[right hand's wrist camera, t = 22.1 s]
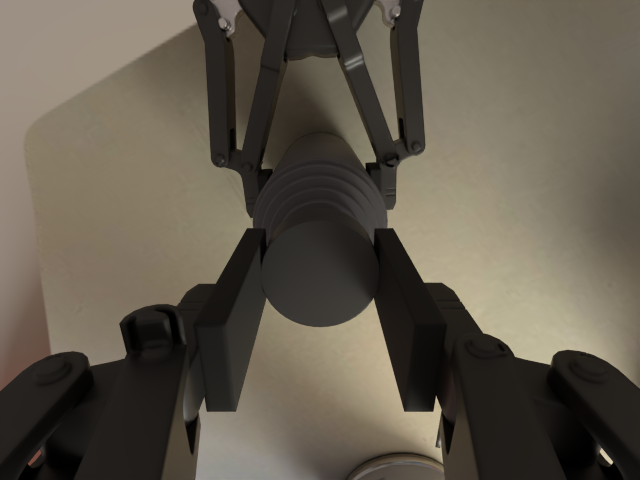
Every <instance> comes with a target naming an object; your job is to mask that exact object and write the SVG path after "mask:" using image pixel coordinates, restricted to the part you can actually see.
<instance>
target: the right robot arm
mask: <svg viewBox="0 0 640 480" xmlns="http://www.w3.org/2000/svg"><path fill="white" fill-rule="evenodd" d="M373 247H374V250H375V252H376V255H377V258H378V261H379V282H378V289H377V292H376V294H375V296H374V301H375V304H376V308H377V312H378V315H379V319H380V323H381V327H382V330H383V334H384V338H385V341H386V345H387V349H388V353H389V356H390V360H391V364H392V367H393V371H394V375H395V379H396V382H397V386H398V390H399V393H400V397H401V401H402V405H403V408H404V412H433V410H434V404H435V398H436V396H437V399H438V401H439V404H440V406H441V409H442V412H441V418H440V423H439V429H438V435H437V441H436V447H438V448H440V446H441V447H442V456H443V466H442V465H441V464H440V463H438V462H436V461H434V460H432V459H430V458H427V457H424V456H420V455H414V454H392V455H386V456H382V457H378V458H375V459H373V460H370V461H368V462H366V463H364V464H362V465H361V466H359V467H358V468H356V469H355V470H354V471H353V472H352V473H351V474H350V475H349V476H348V478H347V479H346V480H640V389H639V388H638V387H637V386H636V385H635V384H634V383H633V382H631V381H630V380H629V379H628V378H627V377H626V376H625V375H624V374H622V373H621V372H620V371H619V370H618V369H616V368H615V367H614V366H612V365H611V364H609V363H608V362H607V361H604V360H602V359H600V358H598V357H596V356H594V355H592V354H589V353H585V352H581V351H573V350H564V351H558V352H557V353H556V354H555V355H554V356H553V358H552V361H551V365H548V364H543V363H538V362H534V361H529V360H524V359H521V358H517V357H515V356H514V354H513V352H512V351H511V349H510V348H509V347H508V345H506V344H505V343H504V342H502V341H501V340H499V339H497V338H495V337H493V336H491V335H488V334H484V333H483V332H482V331H481V329H480V328H479V327H478V325H477V324H476V322H475V321H474V319H473V318H472V317H471V315H470V314H469V312H468V311H467V310H465V307H464V305H463V304H462V302H460V299H459V298H458V296H457V295H456V294H455V292H454V291H453V290H452V289H450V288H449V287H447V286H446V285H444V284H443V283H424V282H423V280H422V279H421V277H420V275H419V273H418V272H417V270H416V268H415V266H414V264H413V263H412V261H411V259H410V257H409V256H408V254H407V252H406V250H405V249H404V247H403V245H402V243H401V241H400V240H399V238H398V236H397V234H396V233H395V231H394V229H393V228H374V244H373ZM266 248H267V241H266V228H247V230H246V231H245V233H244V235H243V237H242V238H241V240H240V242H239V244H238V245H237V247H236V249H235V251H234V253H233V254H232V256H231V258H230V260H229V261H228V263H227V265H226V267H225V268H224V270H223V272H222V274H221V276H220V277H219V279H218V281H217V283H216V284H198V285H196V286H195V287H193V288H192V289H190V290H189V291H187V292H186V294H185V295H184V297H183V298H182V300H181V303H179V304H178V305H177V307H176V306H173V305H169V304H156V305H151V306H147V307H143V308H141V309H138V310H136V311H134V312H132V313H130V314H129V315H127V316H126V317H125V318H124V319H123V320H122V321H121V322H120V323H119V324H120V328H121V332H122V336H123V340H124V344H125V348H126V352H127V354H126V357H125V359H121V360H118V361H114V362H109V363H104V364H99V365H95V366H90V364H89V361H88V357H87V356H85V355H84V354H83V353H80V352H74V351H72V352H63V353H58V354H55V355H51V356H48V357H46V358H44V359H42V360H40V361H38V362H36V363H34V364H32V365H31V366H29V367H28V368H27V369H25V370H24V371H22V372H21V373H20V374H19V375H18V376H17V377H16V378H15V379H14V380H12V381H11V382H10V383H9V384H8V385H7V386H6V387H5V388H4V389H2V390H1V391H0V480H195V477H196V467H197V457H198V447H199V438H200V428H201V424H200V418H199V412H198V411H199V409H200V406H201V404H202V401H203V399H204V397H205V403H206V409H207V412H236V409H237V405H238V402H239V398H240V394H241V391H242V387H243V383H244V379H245V376H246V372H247V368H248V365H249V361H250V357H251V353H252V350H253V346H254V342H255V339H256V335H257V331H258V327H259V324H260V320H261V316H262V313H263V309H264V305H265V301H266V298H267V297H266V295H265V293H264V291H263V287H262V279H261V263H262V260H263V256H264V254H265V251H266ZM601 447H602V449H603V450H604V451H605V452H606V454H607V455H608V456H609V457H610V458H611V460H612V461H613V464H612V465H611V464H610V463H608V462H607V461H606V460H605V458H604V457H603V456H602V455H601V453H600V450H601ZM39 449H40V451H41V455H40V456H39V457H38V458H37V460H36V461H35V462H34V463H32V464H31V465H30V466H29V465H28V462H29V461H30V460H31V459H32V458H33V456H34V455H35V454H36V453H37V452H38V450H39Z"/></svg>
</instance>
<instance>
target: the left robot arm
mask: <svg viewBox="0 0 640 480" xmlns="http://www.w3.org/2000/svg"><path fill="white" fill-rule="evenodd" d="M423 1H424V0H195V1H194V2H193V11H194V14H195V17H196V20H197V23H198V25H199V28H200V31H201V33H202V36H203V39H204V42H205V53H206V72H207V91H208V110H209V129H210V149H211V160H212V163H213V164H214V165H215V166H217V167H220V168H221V167H225V168H229V169H232V170H235V171H237V172H238V173H239V174H240V175H241V177H242V181H243V188H244V195H245V202H246V209H247V213H248V214H249V216H250V218H253V213H254V208H255V204H256V201H257V198H258V196H259V194H260V192H261V190H262V189H263V187H264V186H265V184H266V183H267V181H268V180H269V178H270V176H271V175H272V173H273V169H262V168H261V165H262V163H263V162H262V160H263V156H264V152H265V148H266V144H267V140H268V136H269V132H270V128H271V124H272V120H273V116H274V112H275V108H276V104H277V100H278V96H279V91H280V87H281V83H282V79H283V76H284V74H285V70H286V66H287V62H288V60H289V61H290V60H301V59H304V58H307V57H309V56H317V57H321V58H334V57H336V56H337V59H338V61H339V64H340V66H341V69H342V71H343V73H344V75H345V78H346V80H347V83H348V85H349V88H350V91H351V93H352V96H353V98H354V101H355V104H356V106H357V109H358V111H359V114H360V117H361V119H362V122H363V124H364V127H365V130H366V132H367V135H368V137H369V140H370V143H371V145H372V148H373V150H374V153H375V156H376V162H373V163H366V171H367V173H368V174H369V176H370V177H371V179H372V180H373V182H374V184H375V185H376V187H377V188H378V190H379V192H380V194H381V195H382V198H383V200H384V203H385V207H386V210H391V209H393V208H394V206H395V203H396V170H397V166H398V165H399V163H400V162H401V161H402V160H404V159H406V158H408V157H411V156H413V155H420V154H421V153H422V152H423V151H424V149H425V133H424V119H423V105H422V91H421V77H420V63H419V49H418V35H417V26H418V22H419V18H420V13H421V9H422V5H423ZM373 4H375V5H377V6H378V7H379V8H380V9H381V12H382V21H383V23H384V25H385V26H386V27H389V28H391V31H390V49H391V59H392V70H393V80H394V90H395V100H396V111H397V121H398V131H399V139H397V140H395V141H393V140H392V137H391V134H390V131H389V129H388V126H387V123H386V120H385V118H384V115H383V112H382V109H381V107H380V104H379V101H378V98H377V95H376V93H375V90H374V87H373V84H372V82H371V79H370V76H369V73H368V70H367V68H366V65H365V62H364V57H363V53H362V50H361V47H360V45H359V42H358V39H357V36H356V33H357V31H358V29H359V27H360V26H361V24H362V22H363V21H364V19H365V17H366V15H367V14H368V12H369V10H370V9H371V7H372V5H373ZM244 13H245V14H246V15H247V16H248V17H249V19H250V20H251V21H252V23H253V24H254V25H255V27H256V28H257V29H258V30H259V32H260V33H261V34H262V36H263V37H264V38H265V44H264V48H263V53H262V57H261V65H260V73H259V77H258V82H257V86H256V91H255V95H254V100H253V104H252V109H251V113H250V117H249V122H248V126H247V131H246V135H245V140H244V144H243V149H242V150H239V149H237V147H236V107H235V68H234V49H233V44H232V40H231V39H233V38H235V37H236V36H237V34H238V30H239V29H238V20H239V18H240V16H241V15H243V14H244Z"/></svg>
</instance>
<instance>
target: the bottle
mask: <svg viewBox="0 0 640 480" xmlns="http://www.w3.org/2000/svg"><path fill="white" fill-rule="evenodd" d="M310 208H330V209H335V210H338V211H341V212H343V213H346V214H348V215H349V216H351V217H353V218H354V219H355V220H357V221H358V222H359V223H360V224H361V225H362V226H363V227H364V229H365V230H366V232H367V233H368V235H369V237H370V239H371V241H372V244H374V228H387V211H386V207H385V203H384V200H383V198H382V195H381V194H380V192H379V190H378V188H377V187H376V185H375V184H374V182H373V180H372V179H371V177H370V176H369V174H368V173H367V171H366V170H365V168H364V167H363V165H362V164H361V162H360V160H359V159H358V157H357V156H356V154H355V153H354V151H353V150H352V148H351V147H350V146H349V145H348V144H347V143H346V142H345V141H344V140H342V139H341V138H339V137H337V136H335V135H333V134H329V133H322V132H321V133H311V134H308V135H305V136H303V137H301V138H299V139H298V140H296V141H295V142H294V143H293V144H292V145H291V146H290V147H289V149H288V150H287V152H286V153H285V155H284V156H283V158H282V159H281V161H280V162H279V164H278V166H277V167H276V169H275V170H274V172H273V173H272V175H271V176H270V178H269V180H268V181H267V183H266V184H265V186H264V187H263V189H262V190H261V192H260V194H259V196H258V198H257V201H256V204H255V208H254V213H253V228H266V241H267V245H268V242H269V240H270V238H271V235H272V234H273V232H274V231H275V229H276V228H277V227H278V226H279V224H281V223H282V222H283V221H284V220H285V219H286V218H288V217H289V216H291V215H293V214H295V213H297V212H299V211H302V210H306V209H310Z"/></svg>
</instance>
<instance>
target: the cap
mask: <svg viewBox="0 0 640 480" xmlns="http://www.w3.org/2000/svg"><path fill="white" fill-rule="evenodd" d="M261 279H262V287H263V291H264V293H265V295H266V297H267V299H268V300H269V302H270V303H271V305H272V306H273V307H274V308H275V309H276V310H277V311H278V312H279V313H280V314H282V315H283V316H285V317H286V318H288V319H290V320H292V321H294V322H296V323H299V324H302V325H306V326H312V327H329V326H334V325H338V324H341V323H344V322H346V321H349V320H351V319H352V318H354V317H356V316H357V315H359V314H360V313H361V312H362V311H363V310H364V309H365V308H366V307H367V306H368V305H369V304H370V303H371V301H372V299H373V298H374V296H375V294H376V292H377V289H378V282H379V261H378V258H377V255H376V252H375V250H374V247H373V244H372V241H371V239H370V237H369V235H368V233H367V232H366V230H365V229H364V227H363V226H362V225H361V224H360V223H359V222H358V221H357V220H355V219H354V218H353V217H351V216H349V215H348V214H346V213H343V212H341V211H338V210H335V209H330V208H310V209H306V210H302V211H299V212H297V213H295V214H293V215H291V216H289V217H288V218H286V219H285V220H284V221H283V222H282V223H281V224H279V226H278V227H277V228H276V229H275V231H274V232H273V234H272V235H271V238H270V240H269V242H268V245H267V248H266V251H265V254H264V256H263V260H262V263H261Z"/></svg>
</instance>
